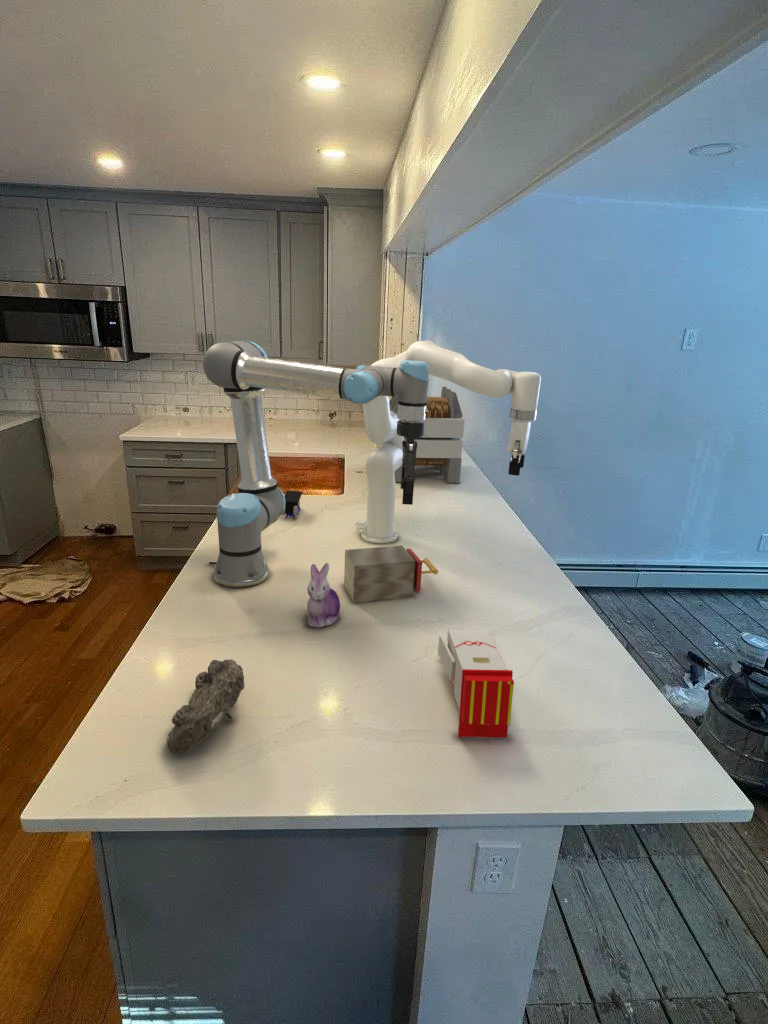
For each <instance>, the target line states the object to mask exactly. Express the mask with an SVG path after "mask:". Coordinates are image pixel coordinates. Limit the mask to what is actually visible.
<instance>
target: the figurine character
mask: <svg viewBox="0 0 768 1024" xmlns="http://www.w3.org/2000/svg"><path fill="white" fill-rule="evenodd" d="M302 495H303V491H302V490H301V491H299V490H286V491H285V493H284V496H285V502H286V504H285V509H284V512H283V513H282V515H281V516H284V519H285V520H287V519H288V517H292V520H295V518H296V516H298V515H299V512H301V511H302V509H301V501H300V500H301V497H302Z"/></svg>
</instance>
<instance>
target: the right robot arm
mask: <svg viewBox="0 0 768 1024" xmlns="http://www.w3.org/2000/svg"><path fill="white" fill-rule="evenodd" d="M404 360H412V361H413V360H414V361H423V362H426V363H427V364H428V366H429V372H428V375H430V376H434V377H436V378H439V379H442V380H445V381H448V382H451V383H453V384H454V385H456V386H459V387H461V388H463V389H466V390H469V391H471V392H473V393H477V394H478V395H479V394H480V395H482V396H485V397H489V398H493V399H499V398H502V397H504V396H506V395H511V403H510V410H509V411H510V412H509V420H510V421H512V422H511V427H510V432H509V439H508V445H507V454H511V455H510V460H509V465H508V473H507V474H508V475H510V476H517V477H520V473H521V469H523V468H524V465H525V458H526V457H525V456H526V455H525V453H526V451H527V448H528V445H529V439H530V432H531V427H532V426H531V425H532V423H534V422H536V420H537V412H538V404H539V398H540V397H539V396H540V389H541V382H542V381H541V380H542V378H541V375H540V373H538V372H533V371H516V370H512V369H507V368H499V369H496V370H494V369H492V368H488V367H485V366H482V365H479V364H477V363H474V362H473V361H471V360H469V359H468V358H467V357H466V356H465V355H464V354H462V353H459V352H457V351H453V350H450V349H447V348H444V347H441V346H438V345H437V344H436V343H435V342H433V341H432V340H419V341H415V342H413V343H411V344H410V345H409V346H408V347H407V350H405V351H403V352H400V353H399V354H397V355H395V356H393V357H385V358H382V359H379V360H376V361H375V362H373V363H372V364H371V365H372V366H380V367H391V368H399V367H400V364H401V362H402V361H404ZM389 401H390V399H389V396H378V397H376V398H374V399H373V400H372V401H370V402H368V403H365V404H362V406H363V407H362V408H363V417H364V427H365V433H366V437H367V439H368V440H369V442H371V443H372V444H375V445H376V444H377V448H375V449H373V450H372V451H371V452H370V453H369V455H368V456H367V458H366V462H365V470H366V480H367V483H366V519H365V520H366V521H364V522H362V521H355V522H354V527H355V529H356V530H361V534H360V535H361V538H362V539H363V540H364V541H366V542H368V543H373V544H389V543H393V542H395V541H397V540H398V537H399V534H398V532H397V531H396V530H395V528H394V527H395V510H396V509H395V508H396V507H395V506H396V491H397V490H396V489H397V487H396V485H397V484H396V482H395V470H396V469H398V468H399V467H400V466H401V465H402V459H403V452H402V449H403V447H402V441H404V437H402V436H399V435H398V434H397V422H398V420H399V419H398V418H397V414H396V413H394V412H392V411H390V406H389Z"/></svg>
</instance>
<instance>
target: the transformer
mask: <svg viewBox="0 0 768 1024" xmlns="http://www.w3.org/2000/svg"><path fill="white" fill-rule="evenodd" d="M440 393H441V394H440V396H427V402H426V403H427V404H426V409H428V412H425V414H426V416H425V420H424V421H423V422H424V423H425V433H424V436H422V437H416V438H415V441H417V450H416V458H415V467H417V466H418V467H436V468H437V470H438V469H439V473H440V474H441V475H443V478H444V479H445V481H446V482H447V483H449V484H455V483H456V484H459V483H461V472H462V461H463V460H462V453H463V442H464V441H463V440H462V439H463V438H464V431H465V430H464V429H465V419H464V418H463V411H462V408H461V405H460V402H459V398H458V395H457V392H455V391H453V390H452V389H451V388H447V386H442V387H441V392H440ZM398 401H399V400H398V397H392V396H391V398H390V399H389V406H390V411H392V412H394V413H396V414H397V412H398ZM402 467H404V466H403V465H401V466H400V467H399V468H398V469H396V470H395V483H401V476H402Z"/></svg>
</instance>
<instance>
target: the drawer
mask: <svg viewBox="0 0 768 1024" xmlns="http://www.w3.org/2000/svg"><path fill="white" fill-rule="evenodd" d="M406 550H407V552H408V553H409V554H410V555H411V556H412V558H413V559H414V560H415V568H414V583H413V590H414V591H415V592H416V593H418V592H421V586H422V585H421V584H422V575H425V574H433V575H438V574H439V569H438V568H437V567H436V566H435V565H434V564H433V563H432V562H431V561H430V559H429V558H427V557H424V558H423V559H422V560H421V559H420V558H419V556H418V555H417V554H416V553H415V552H414V551H413V550H412V548H406ZM423 563H424V564H425V566H426V567H427V568H428V569H429V570H423Z"/></svg>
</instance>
